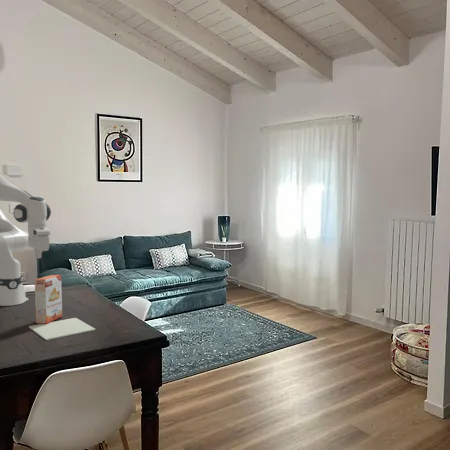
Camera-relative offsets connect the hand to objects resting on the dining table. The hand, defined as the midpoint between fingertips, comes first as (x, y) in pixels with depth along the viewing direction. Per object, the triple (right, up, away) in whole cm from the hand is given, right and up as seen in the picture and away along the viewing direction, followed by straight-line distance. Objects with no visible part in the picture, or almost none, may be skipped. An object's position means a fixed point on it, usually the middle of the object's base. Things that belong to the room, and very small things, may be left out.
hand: (38, 258), depth 231 cm
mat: (+18, -31, -19) cm, 41 cm away
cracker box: (+9, -29, -8) cm, 32 cm away
